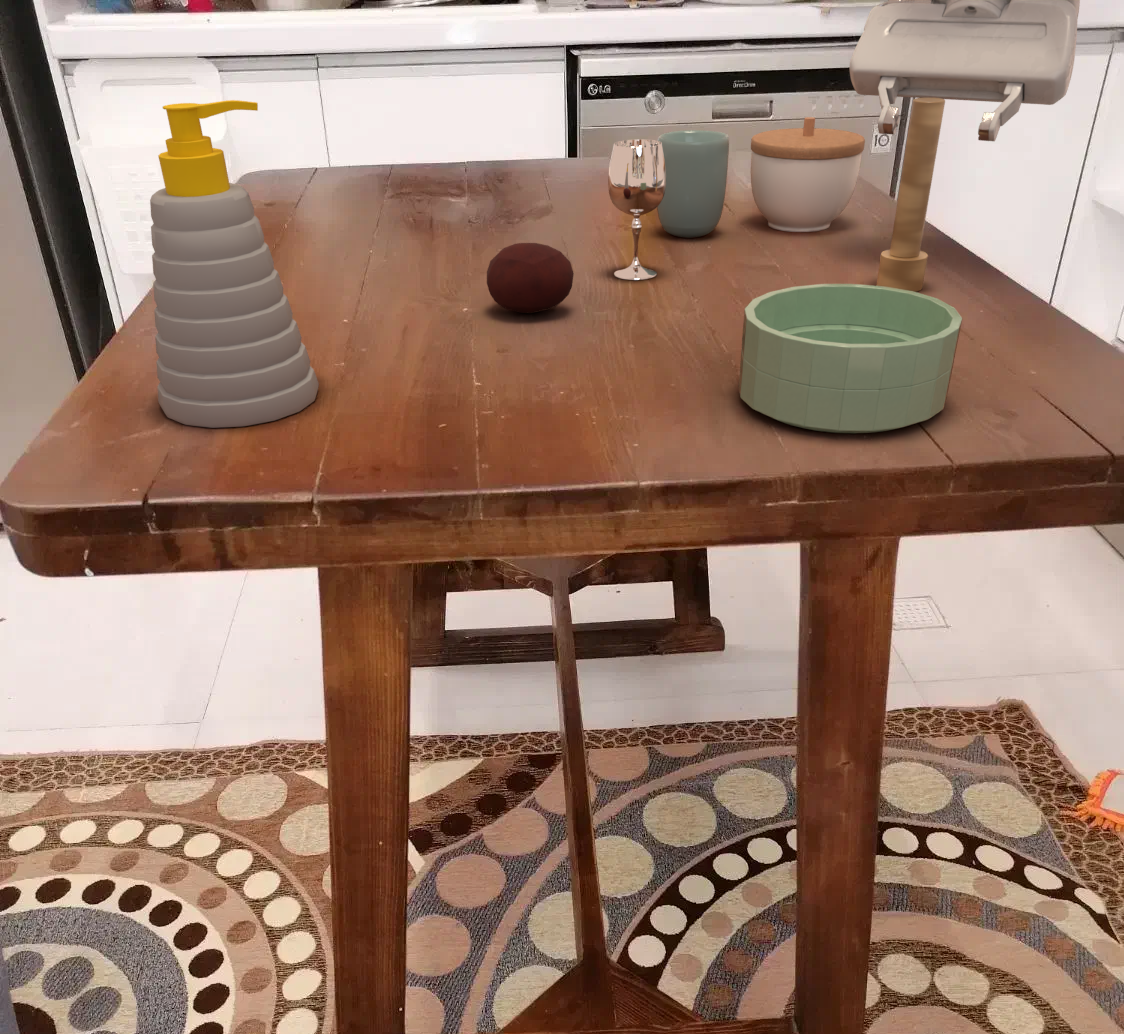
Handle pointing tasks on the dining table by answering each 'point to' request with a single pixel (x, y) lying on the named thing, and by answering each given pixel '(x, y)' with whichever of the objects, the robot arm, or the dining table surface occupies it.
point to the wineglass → (637, 190)
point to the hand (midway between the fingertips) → (934, 133)
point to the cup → (693, 181)
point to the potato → (529, 277)
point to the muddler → (913, 199)
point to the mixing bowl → (847, 356)
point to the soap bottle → (218, 292)
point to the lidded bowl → (804, 175)
